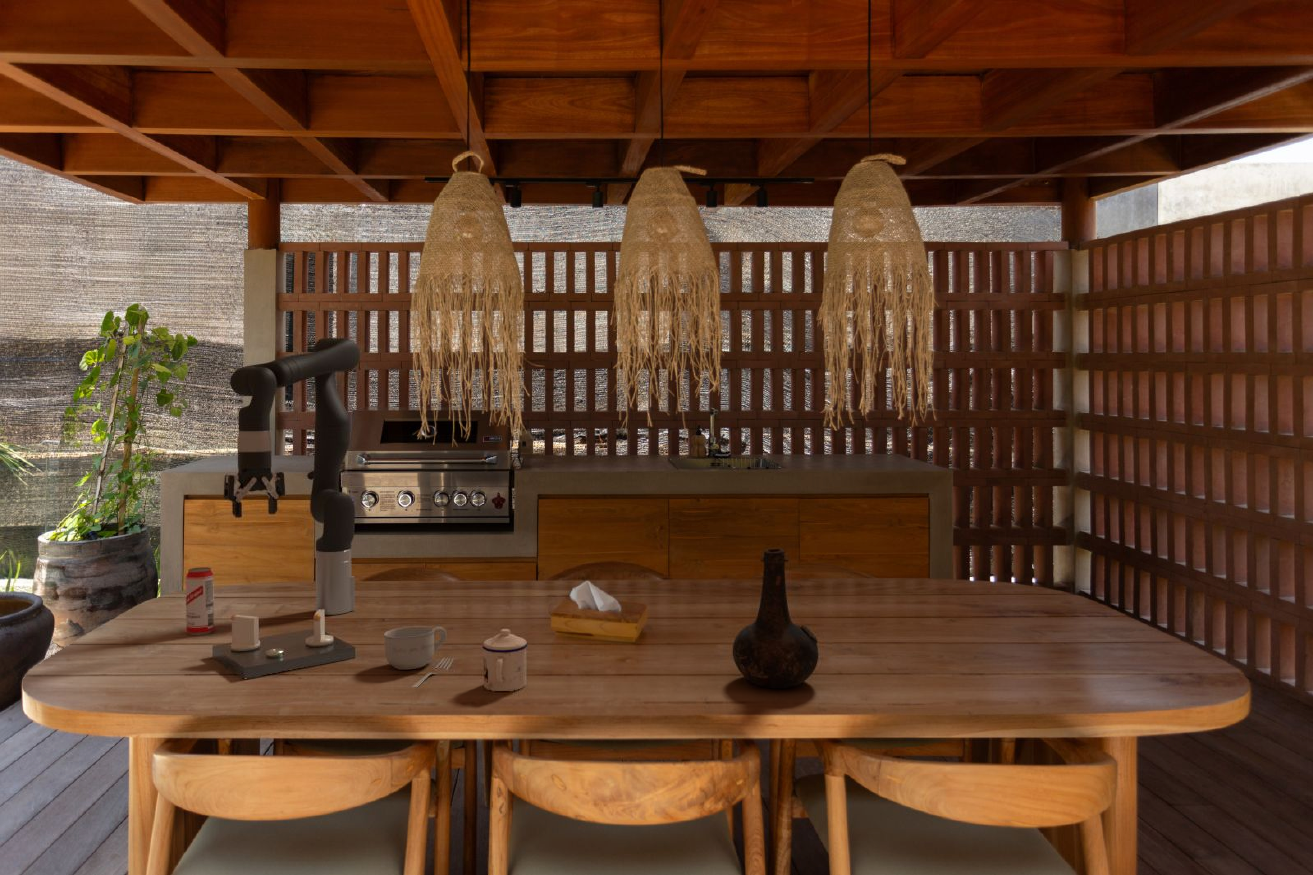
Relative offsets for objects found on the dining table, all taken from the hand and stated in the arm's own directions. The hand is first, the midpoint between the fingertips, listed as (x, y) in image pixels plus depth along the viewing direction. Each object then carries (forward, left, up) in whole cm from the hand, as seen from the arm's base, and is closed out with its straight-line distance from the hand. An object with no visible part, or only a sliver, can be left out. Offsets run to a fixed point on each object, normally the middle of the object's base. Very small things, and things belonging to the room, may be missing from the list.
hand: (255, 515), depth 218 cm
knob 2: (-6, +24, -27) cm, 37 cm away
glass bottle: (-70, +106, -30) cm, 131 cm away
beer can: (+9, -14, -30) cm, 35 cm away
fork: (-15, +57, -31) cm, 66 cm away
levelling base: (+1, +21, -30) cm, 37 cm away
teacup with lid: (-25, +72, -30) cm, 82 cm away
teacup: (-19, +46, -30) cm, 58 cm away
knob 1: (+8, +17, -27) cm, 33 cm away
